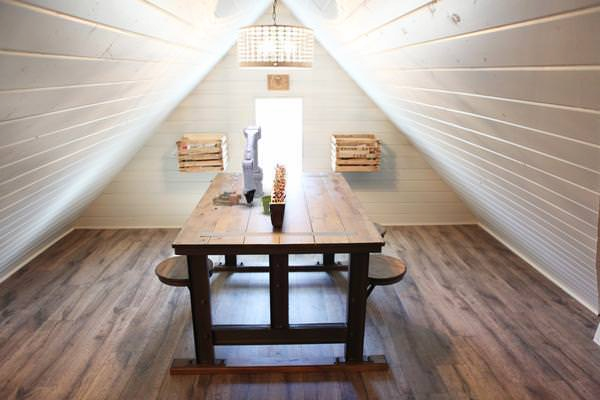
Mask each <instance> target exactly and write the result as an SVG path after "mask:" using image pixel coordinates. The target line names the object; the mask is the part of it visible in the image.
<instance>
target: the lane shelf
mask: <svg viewBox="0 0 600 400" xmlns="http://www.w3.org/2000/svg"><path fill="white" fill-rule="evenodd" d="M226 192H227V190H223V191H222V192H221V193H219V194H217V195H216V196H214V197H213V198H212V204H213V206H221V207H224V206H225V207H231V206H233V205H232V204H231V202H229V198H228V197H226ZM241 199H242V194H239V200H241Z"/></svg>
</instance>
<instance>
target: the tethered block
mask: <svg viewBox="0 0 600 400" xmlns="http://www.w3.org/2000/svg"><path fill="white" fill-rule="evenodd" d="M239 195H240V194H237V193H236V194H231V195H230V196H229V202H231V204H232V206H239V205H240V206H248V207H251V206H252V202H251V203H247V202H246V203H243V202H240V199H239Z"/></svg>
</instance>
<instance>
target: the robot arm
mask: <svg viewBox="0 0 600 400" xmlns="http://www.w3.org/2000/svg"><path fill="white" fill-rule="evenodd" d="M243 135H244V137H245V139H246V148H245V149H244V156H243V160H242V163H241V165H242V167H241V168H242V173H243V183H244V185H243V186H244V187H243V190H242V194H243V195H244V197H245V200H246V204H247V203H251V204H252V203H253V202H254V198H261V197H262V196H264V194H265V192H264V189H263V188H264V187H263V185H264V184H263V181H264V172H263V171H264V170H263V168H262V167H260V166H259V151H258V148H259V147H258V146H259V145H258V142H259V140H260V139H262V127H261V125H244V126H243Z"/></svg>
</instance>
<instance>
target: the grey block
mask: <svg viewBox="0 0 600 400" xmlns="http://www.w3.org/2000/svg"><path fill="white" fill-rule="evenodd" d="M231 194H237V192H236V190H233V189H230V190H226V197H228V198H229V196H230V195H231Z"/></svg>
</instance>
